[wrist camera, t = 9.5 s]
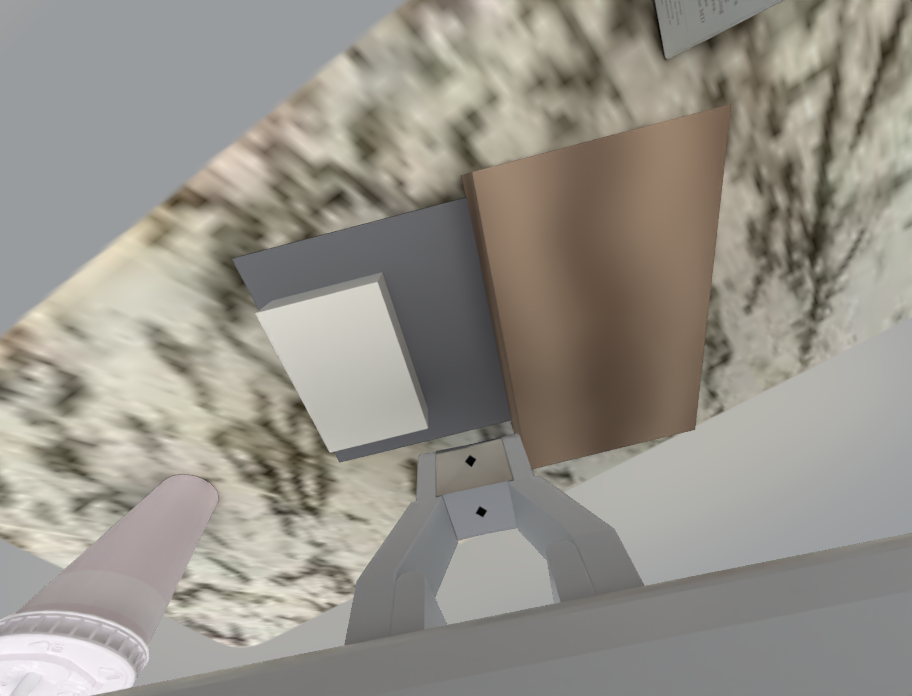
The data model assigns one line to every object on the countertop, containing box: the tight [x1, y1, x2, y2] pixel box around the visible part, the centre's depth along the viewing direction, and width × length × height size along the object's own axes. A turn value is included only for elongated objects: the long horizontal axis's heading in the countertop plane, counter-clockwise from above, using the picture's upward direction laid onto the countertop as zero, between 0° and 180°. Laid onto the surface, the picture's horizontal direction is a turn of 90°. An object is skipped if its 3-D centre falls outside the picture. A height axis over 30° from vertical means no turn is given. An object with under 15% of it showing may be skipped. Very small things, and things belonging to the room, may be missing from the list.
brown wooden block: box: [462, 104, 731, 469], centre depth 18 cm, size 10×16×4 cm, turn 13°
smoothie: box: [0, 475, 218, 696], centre depth 17 cm, size 6×6×14 cm
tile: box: [255, 272, 428, 453], centre depth 19 cm, size 6×9×2 cm, turn 13°
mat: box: [232, 197, 511, 462], centre depth 20 cm, size 12×14×1 cm
